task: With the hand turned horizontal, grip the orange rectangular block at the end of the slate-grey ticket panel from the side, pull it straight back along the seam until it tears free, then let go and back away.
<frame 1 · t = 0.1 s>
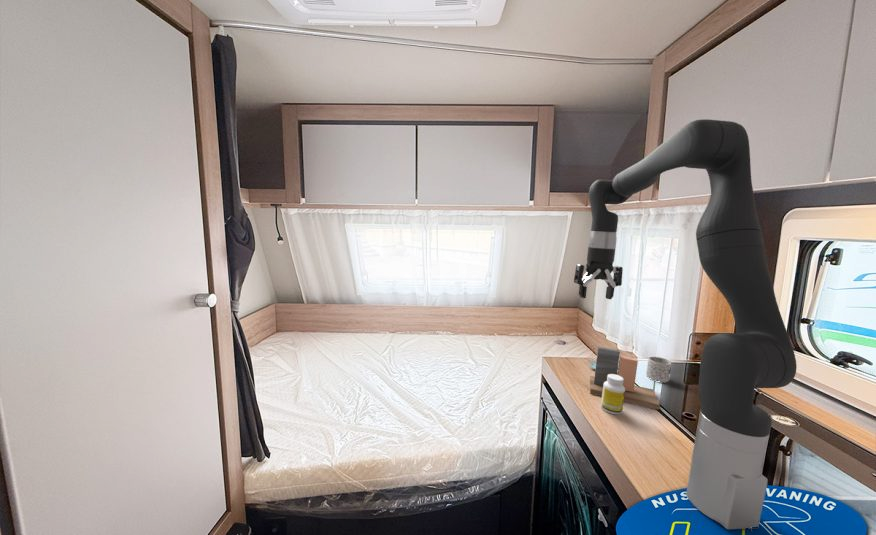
hand: (595, 298, 100), 29 cm above the worktop, tool pointing down, fingers open, 8 cm apart
orange rectangular block: (626, 373, 99), point 7 cm above the worktop, slide at 0.0 cm
supplement bottle: (611, 410, 90), on the worktop
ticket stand: (621, 393, 100), on the worktop
pacifier: (600, 371, 116), on the worktop
mug: (654, 376, 114), on the worktop
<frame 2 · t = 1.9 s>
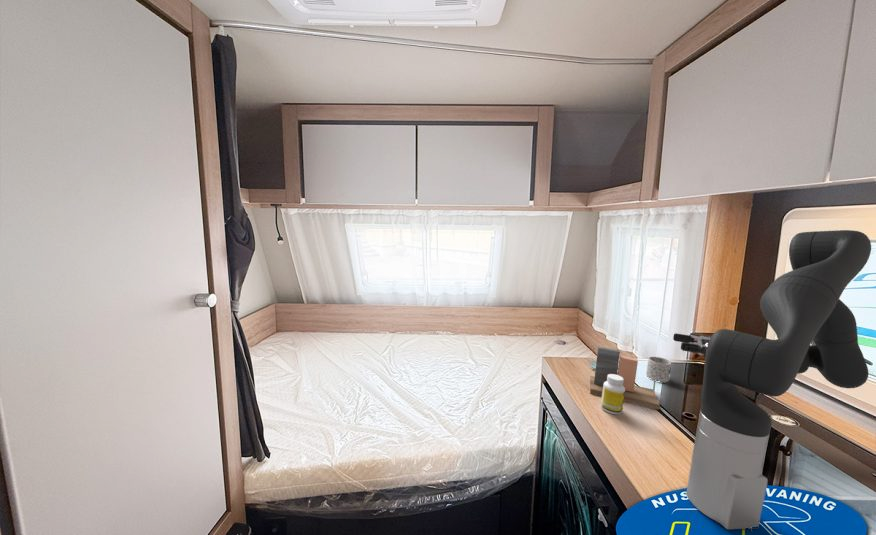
hand: (677, 341, 92), 20 cm above the worktop, tool horizontal, fingers open, 8 cm apart
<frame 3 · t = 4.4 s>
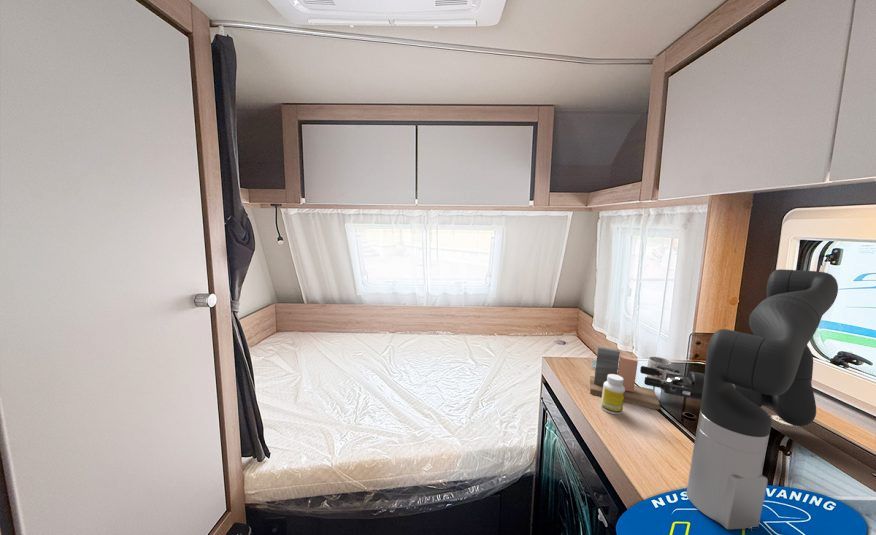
hand: (642, 374, 97), 7 cm above the worktop, tool horizontal, fingers open, 8 cm apart
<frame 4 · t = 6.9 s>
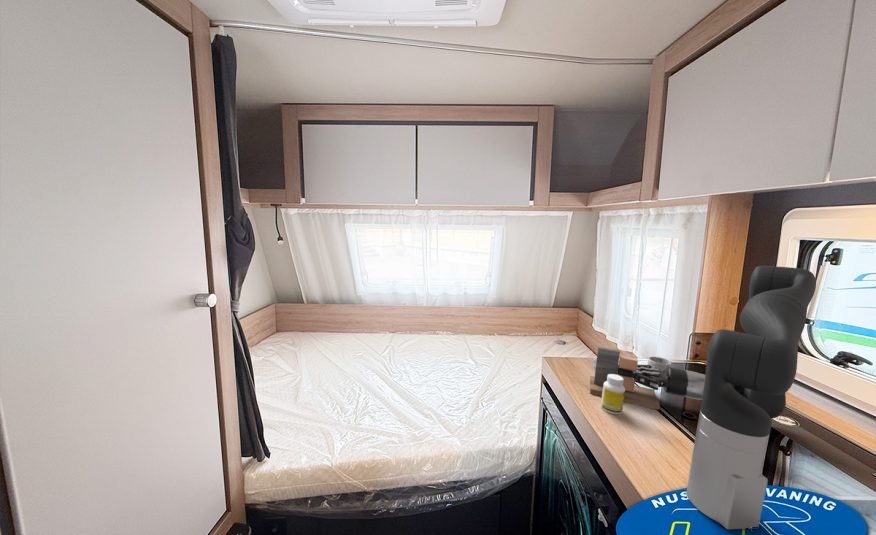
hand: (617, 369, 99), 8 cm above the worktop, tool horizontal, fingers closed on orange rectangular block, 2 cm apart
orange rectangular block: (626, 373, 99), point 7 cm above the worktop, slide at 0.0 cm, touching gripper
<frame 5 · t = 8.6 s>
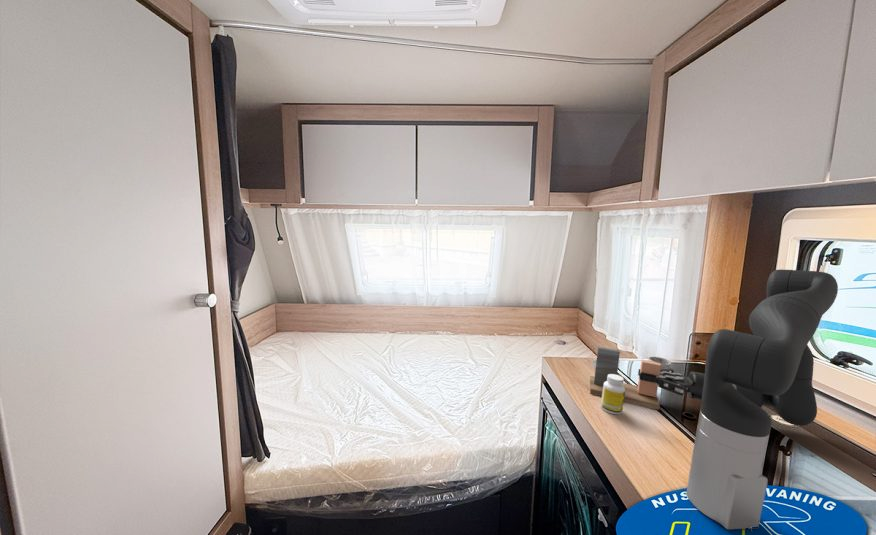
hand: (639, 374, 97), 8 cm above the worktop, tool horizontal, fingers closed on orange rectangular block, 2 cm apart
orange rectangular block: (648, 378, 96), point 7 cm above the worktop, slide at 5.8 cm, touching gripper
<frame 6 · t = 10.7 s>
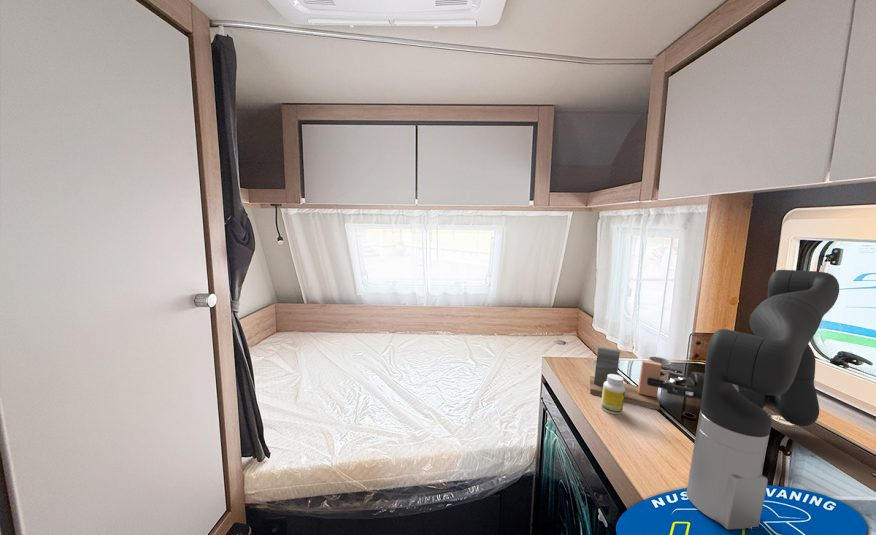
hand: (645, 375, 97), 7 cm above the worktop, tool horizontal, fingers open, 8 cm apart
orange rectangular block: (649, 378, 96), point 7 cm above the worktop, slide at 6.0 cm
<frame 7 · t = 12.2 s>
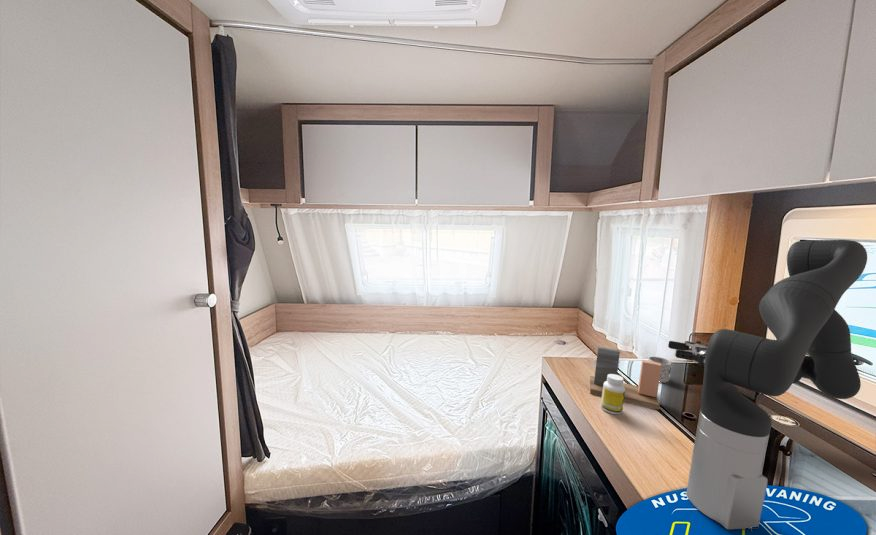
hand: (672, 348, 93), 17 cm above the worktop, tool horizontal, fingers open, 8 cm apart
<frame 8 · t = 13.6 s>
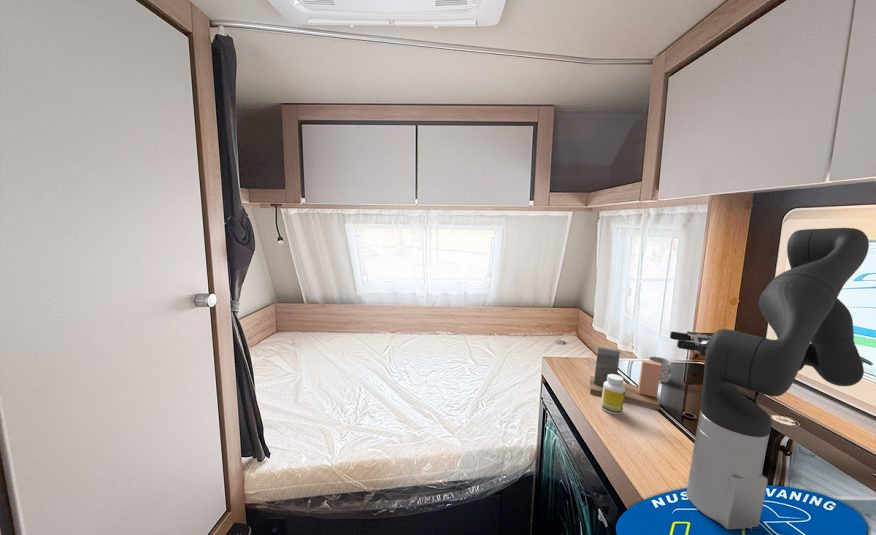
hand: (674, 339, 93), 20 cm above the worktop, tool horizontal, fingers open, 8 cm apart
at the end: orange rectangular block slide at 6.0 cm; the gripper is holding nothing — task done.
